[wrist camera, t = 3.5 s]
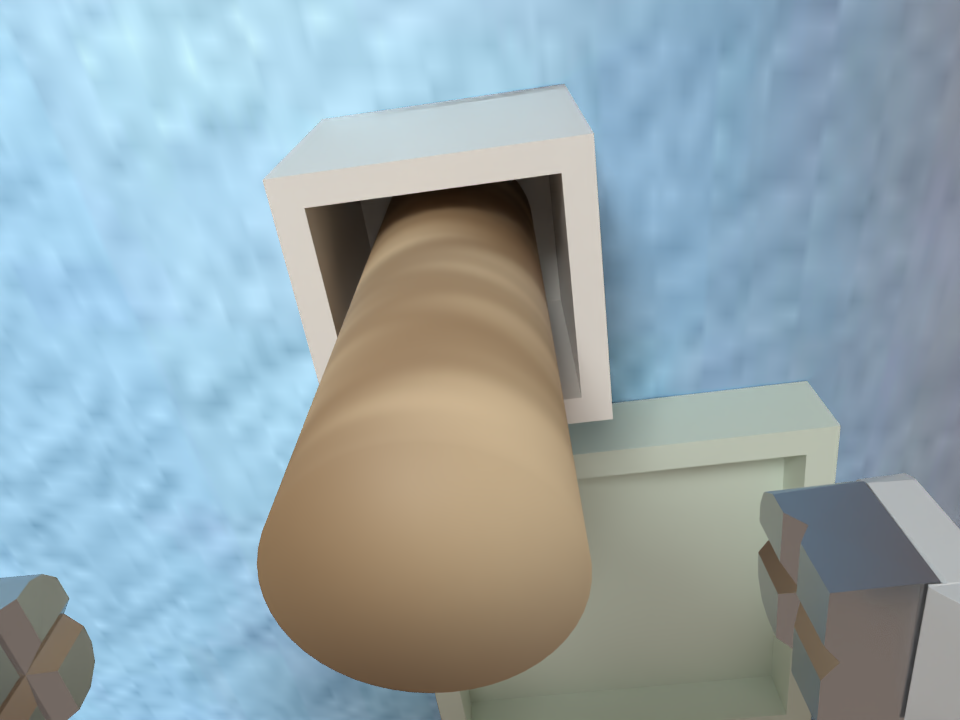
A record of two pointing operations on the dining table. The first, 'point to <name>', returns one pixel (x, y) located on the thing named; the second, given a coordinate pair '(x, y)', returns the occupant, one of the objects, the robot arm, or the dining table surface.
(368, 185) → the pen cup
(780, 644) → the tray
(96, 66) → the dining table surface
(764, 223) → the dining table surface
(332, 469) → the dowel
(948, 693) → the robot arm
